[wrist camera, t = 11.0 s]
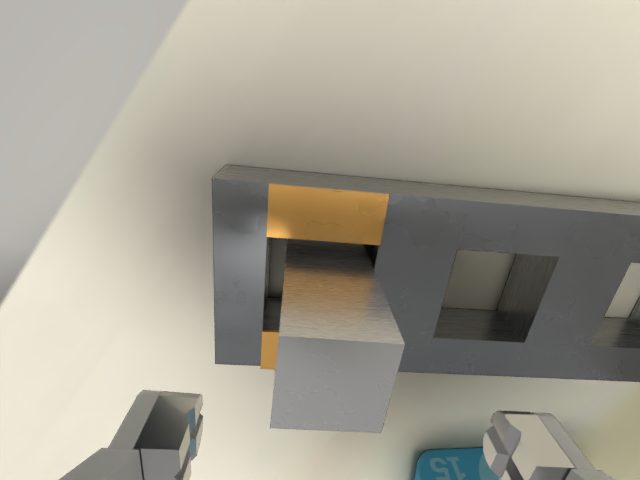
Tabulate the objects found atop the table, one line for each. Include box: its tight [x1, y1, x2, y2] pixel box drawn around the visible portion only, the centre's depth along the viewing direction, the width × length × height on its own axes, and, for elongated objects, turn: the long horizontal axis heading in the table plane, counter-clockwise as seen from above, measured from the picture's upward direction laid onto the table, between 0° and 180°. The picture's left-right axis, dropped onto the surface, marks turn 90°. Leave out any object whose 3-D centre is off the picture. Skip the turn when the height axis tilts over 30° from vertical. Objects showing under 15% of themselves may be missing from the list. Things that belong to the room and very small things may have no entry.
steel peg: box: [270, 239, 405, 433], centre depth 16 cm, size 4×4×9 cm
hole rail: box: [212, 165, 640, 382], centre depth 19 cm, size 28×10×3 cm, turn 84°
